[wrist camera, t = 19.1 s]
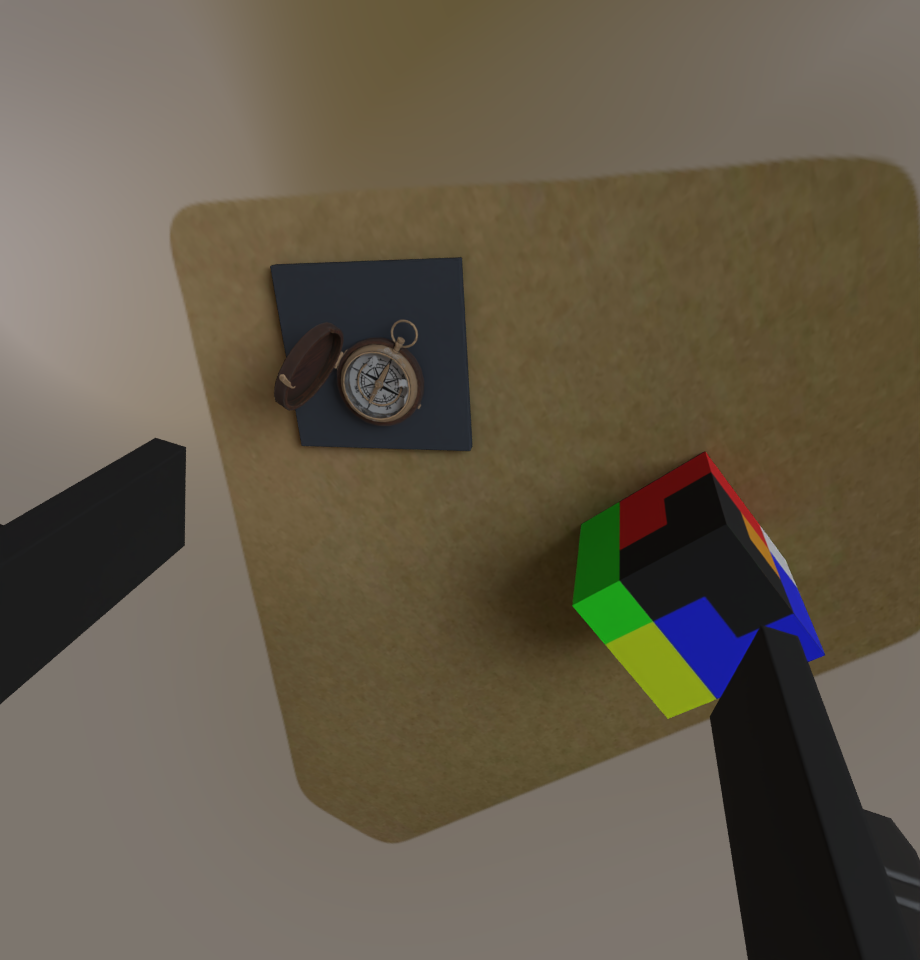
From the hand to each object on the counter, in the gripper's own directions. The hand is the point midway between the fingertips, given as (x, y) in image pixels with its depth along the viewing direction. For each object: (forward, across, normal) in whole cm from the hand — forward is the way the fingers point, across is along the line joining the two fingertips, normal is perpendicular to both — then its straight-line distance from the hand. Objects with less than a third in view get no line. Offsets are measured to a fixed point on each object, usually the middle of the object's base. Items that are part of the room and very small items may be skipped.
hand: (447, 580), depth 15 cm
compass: (+30, -11, -6) cm, 32 cm away
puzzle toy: (+31, +13, -13) cm, 36 cm away
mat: (+30, -12, -6) cm, 33 cm away
